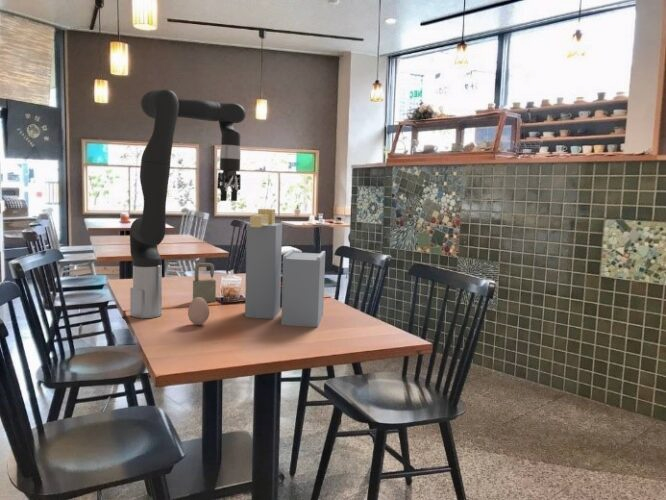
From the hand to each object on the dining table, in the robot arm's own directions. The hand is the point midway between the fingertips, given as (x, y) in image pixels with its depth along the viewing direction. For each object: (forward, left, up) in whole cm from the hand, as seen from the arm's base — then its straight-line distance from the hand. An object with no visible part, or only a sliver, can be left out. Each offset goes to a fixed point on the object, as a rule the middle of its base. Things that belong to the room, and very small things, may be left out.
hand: (228, 200), depth 208 cm
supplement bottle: (+10, -21, -39) cm, 45 cm away
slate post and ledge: (-6, -33, -39) cm, 52 cm away
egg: (-32, -20, -39) cm, 54 cm away
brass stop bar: (-12, -28, -7) cm, 31 cm away
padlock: (-7, +5, -39) cm, 40 cm away
